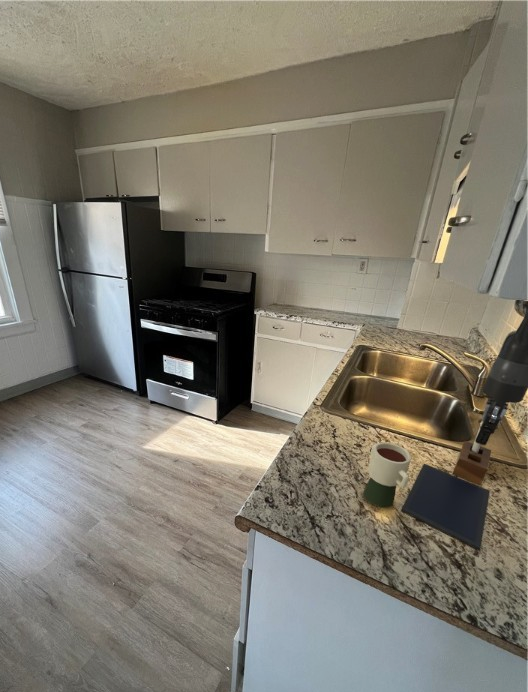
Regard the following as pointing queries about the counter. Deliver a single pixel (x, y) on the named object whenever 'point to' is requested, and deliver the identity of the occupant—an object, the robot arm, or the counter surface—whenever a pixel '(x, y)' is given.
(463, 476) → the pen stand
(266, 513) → the counter surface
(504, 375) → the robot arm
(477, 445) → the stylus
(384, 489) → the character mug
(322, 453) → the counter surface
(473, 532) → the tablet
